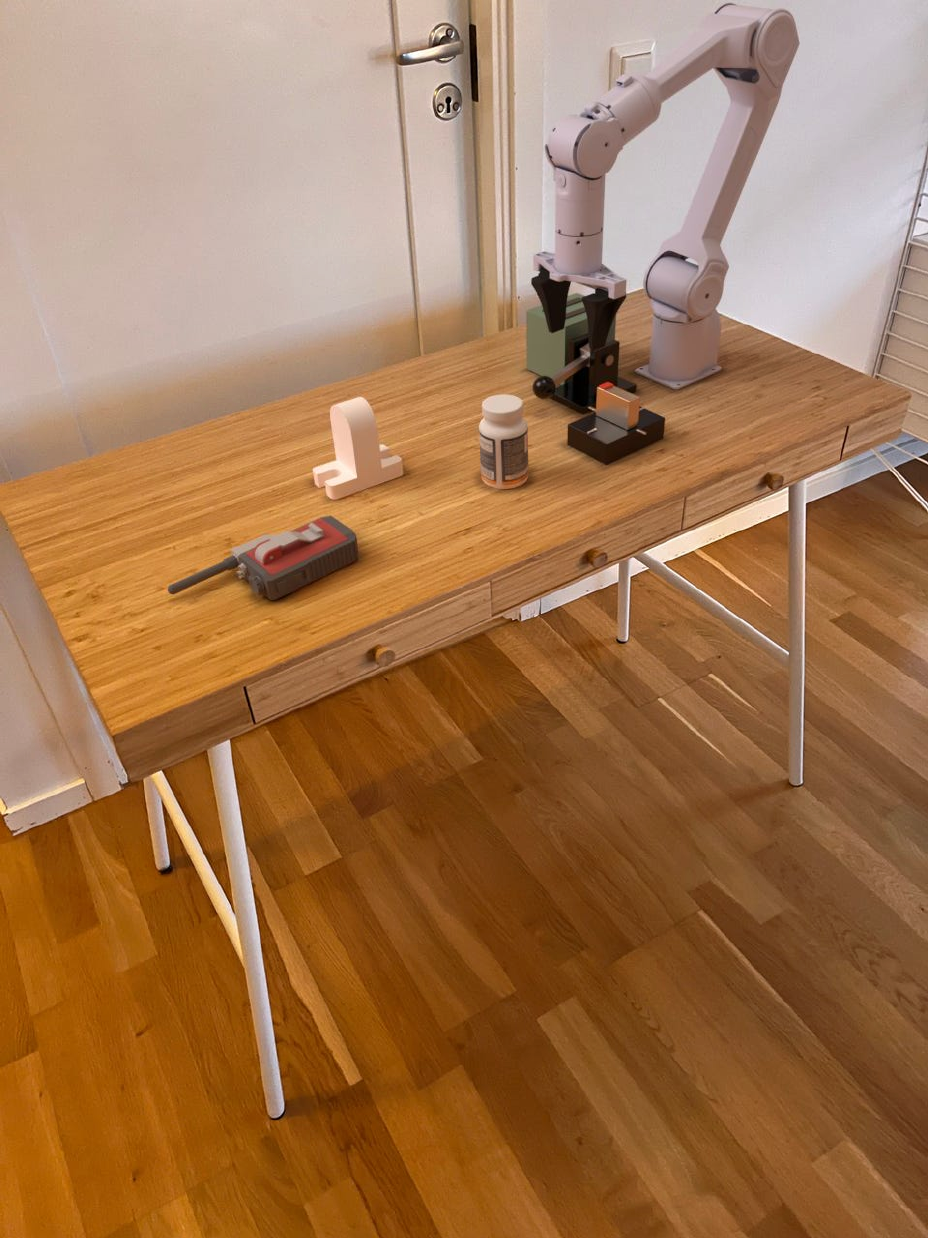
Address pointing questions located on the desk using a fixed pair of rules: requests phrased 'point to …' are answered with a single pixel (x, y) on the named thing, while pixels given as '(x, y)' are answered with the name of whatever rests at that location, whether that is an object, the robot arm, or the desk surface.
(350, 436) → the white phone stand
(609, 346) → the lever bracket
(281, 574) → the walkie-talkie
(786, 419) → the desk surface
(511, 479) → the pill bottle
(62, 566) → the desk surface
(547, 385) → the lever
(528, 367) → the toaster
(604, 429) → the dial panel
